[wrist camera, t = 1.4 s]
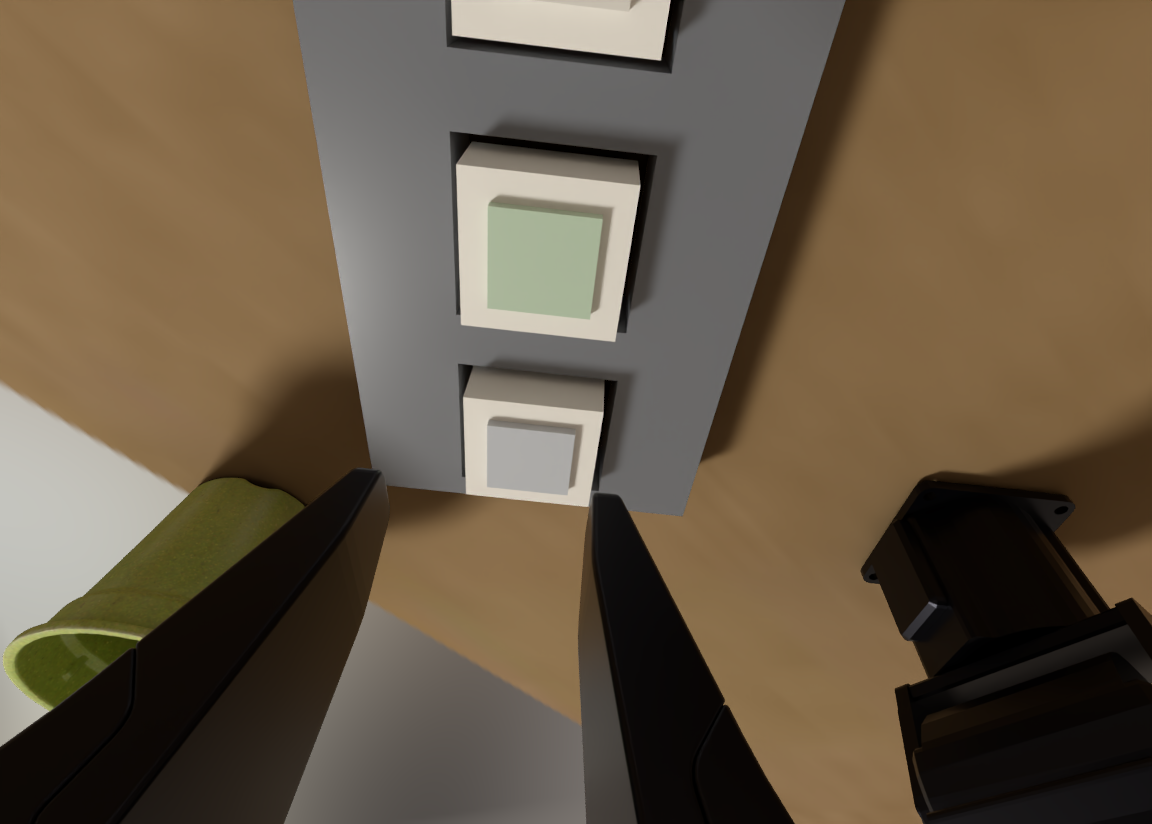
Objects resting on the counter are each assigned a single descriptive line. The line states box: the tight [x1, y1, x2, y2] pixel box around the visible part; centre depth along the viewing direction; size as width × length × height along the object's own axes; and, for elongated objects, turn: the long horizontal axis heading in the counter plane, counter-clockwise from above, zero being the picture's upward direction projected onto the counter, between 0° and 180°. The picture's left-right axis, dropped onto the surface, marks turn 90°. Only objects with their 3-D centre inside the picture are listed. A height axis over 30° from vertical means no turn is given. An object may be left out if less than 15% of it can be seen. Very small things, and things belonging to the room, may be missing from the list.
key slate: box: [463, 365, 604, 507], centre depth 20 cm, size 4×4×2 cm
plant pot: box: [3, 478, 305, 711], centre depth 25 cm, size 9×9×9 cm
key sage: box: [456, 141, 640, 342], centre depth 16 cm, size 4×4×2 cm
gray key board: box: [293, 0, 845, 516], centre depth 15 cm, size 12×28×2 cm, turn 174°
